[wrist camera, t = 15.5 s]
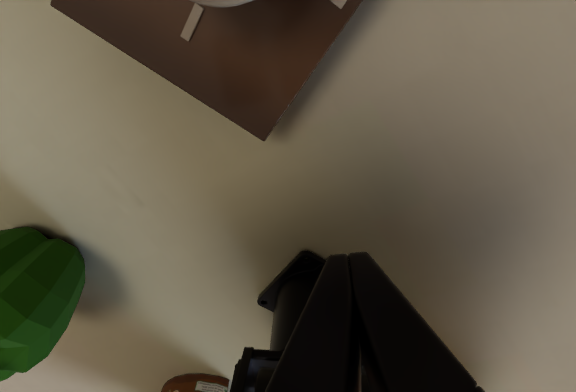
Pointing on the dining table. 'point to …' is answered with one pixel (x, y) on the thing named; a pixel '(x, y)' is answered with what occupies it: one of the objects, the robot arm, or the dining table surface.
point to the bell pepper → (35, 296)
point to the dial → (221, 2)
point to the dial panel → (223, 47)
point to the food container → (196, 383)
